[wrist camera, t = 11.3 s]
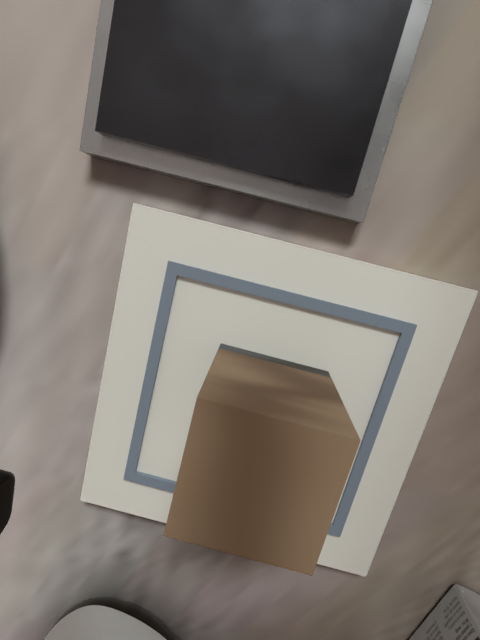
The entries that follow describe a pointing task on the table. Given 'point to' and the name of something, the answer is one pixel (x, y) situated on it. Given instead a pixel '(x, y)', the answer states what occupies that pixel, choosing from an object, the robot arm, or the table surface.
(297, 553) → the stamp
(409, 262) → the table surface
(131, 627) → the spread jar
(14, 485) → the robot arm
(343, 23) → the ink pad
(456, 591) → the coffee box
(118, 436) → the white flat square panel
